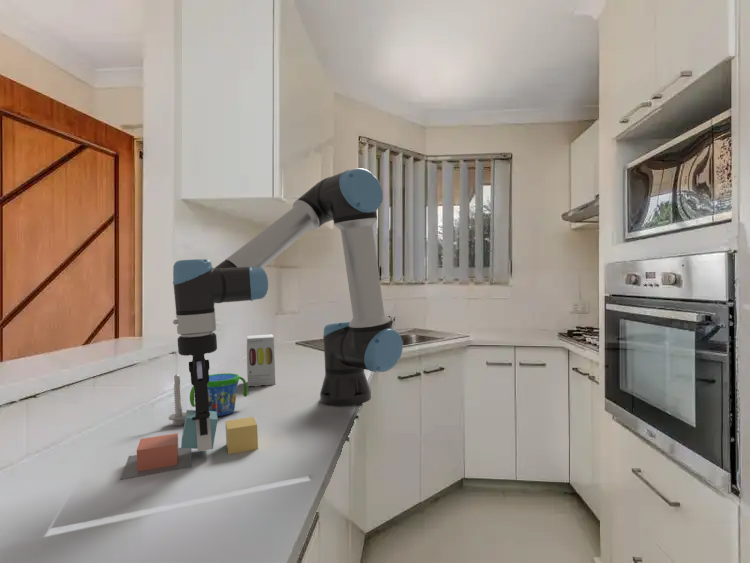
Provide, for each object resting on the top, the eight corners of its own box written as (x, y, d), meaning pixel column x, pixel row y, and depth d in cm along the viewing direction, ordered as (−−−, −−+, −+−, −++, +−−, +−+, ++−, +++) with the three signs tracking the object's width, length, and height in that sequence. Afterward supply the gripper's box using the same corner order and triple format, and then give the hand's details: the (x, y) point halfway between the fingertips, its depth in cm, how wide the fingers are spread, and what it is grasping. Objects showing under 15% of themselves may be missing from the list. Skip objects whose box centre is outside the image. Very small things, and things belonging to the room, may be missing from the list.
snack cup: (242, 404, 133) (241, 369, 133) (254, 412, 124) (252, 375, 124) (186, 414, 124) (185, 378, 124) (194, 424, 116) (193, 384, 116)
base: (191, 449, 98) (190, 427, 98) (191, 470, 87) (190, 446, 87) (129, 459, 94) (128, 437, 93) (120, 483, 82) (119, 457, 82)
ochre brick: (254, 443, 101) (253, 416, 101) (258, 452, 95) (257, 424, 95) (226, 448, 98) (225, 421, 98) (228, 458, 93) (227, 429, 93)
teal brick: (211, 439, 97) (216, 411, 98) (212, 448, 92) (217, 419, 92) (181, 438, 95) (186, 409, 95) (181, 448, 89) (186, 417, 90)
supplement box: (247, 387, 154) (245, 338, 153) (247, 381, 162) (246, 335, 162) (276, 384, 156) (274, 336, 156) (274, 379, 165) (273, 333, 165)
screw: (170, 422, 118) (190, 420, 119) (167, 428, 113) (188, 425, 115) (167, 373, 118) (187, 371, 119) (165, 377, 113) (186, 375, 114)
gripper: (178, 331, 101) (185, 432, 101) (175, 341, 83) (184, 465, 84) (214, 327, 103) (220, 426, 104) (218, 337, 86) (226, 456, 86)
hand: (204, 443), depth 94 cm, fingers closed on teal brick, 6 cm apart
